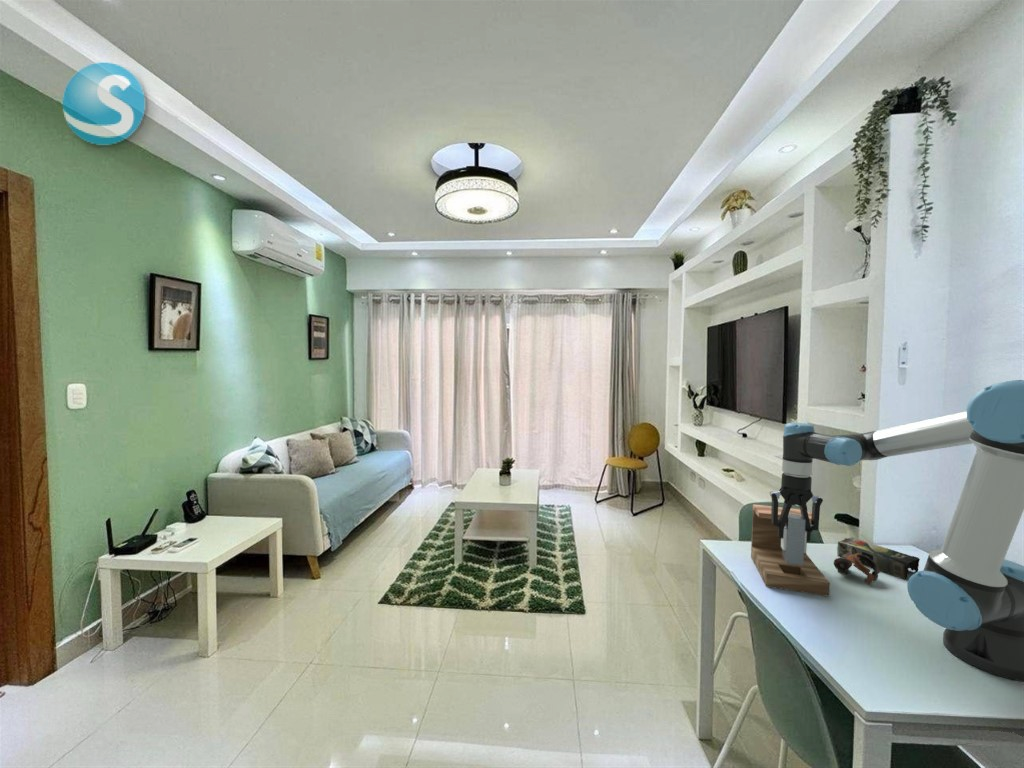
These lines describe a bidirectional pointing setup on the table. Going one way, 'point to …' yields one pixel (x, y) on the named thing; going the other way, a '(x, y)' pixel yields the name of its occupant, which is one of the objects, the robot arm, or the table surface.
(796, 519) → the peg
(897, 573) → the juice carton
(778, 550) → the socket stand
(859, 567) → the brown ring shaped figurine
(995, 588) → the robot arm
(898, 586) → the table surface
